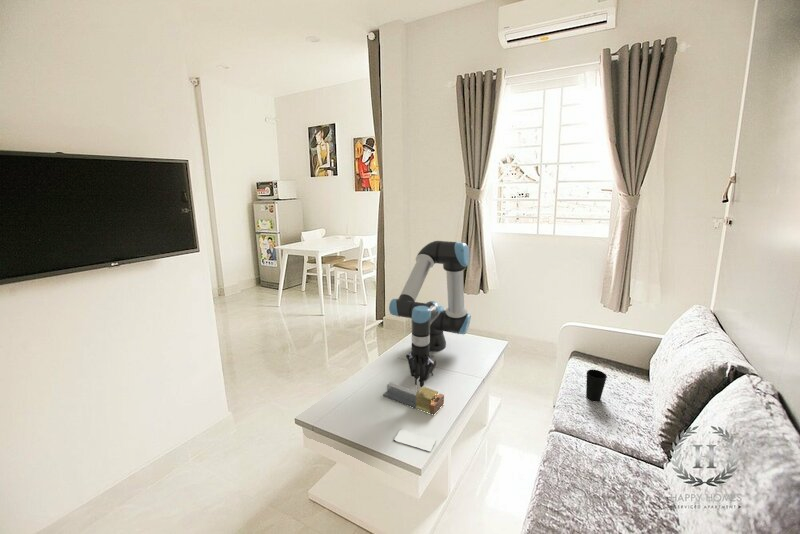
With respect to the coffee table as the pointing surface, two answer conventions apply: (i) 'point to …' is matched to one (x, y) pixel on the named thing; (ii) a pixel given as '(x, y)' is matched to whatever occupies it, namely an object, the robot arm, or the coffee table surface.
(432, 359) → the alarm clock
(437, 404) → the rail
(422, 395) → the clip
